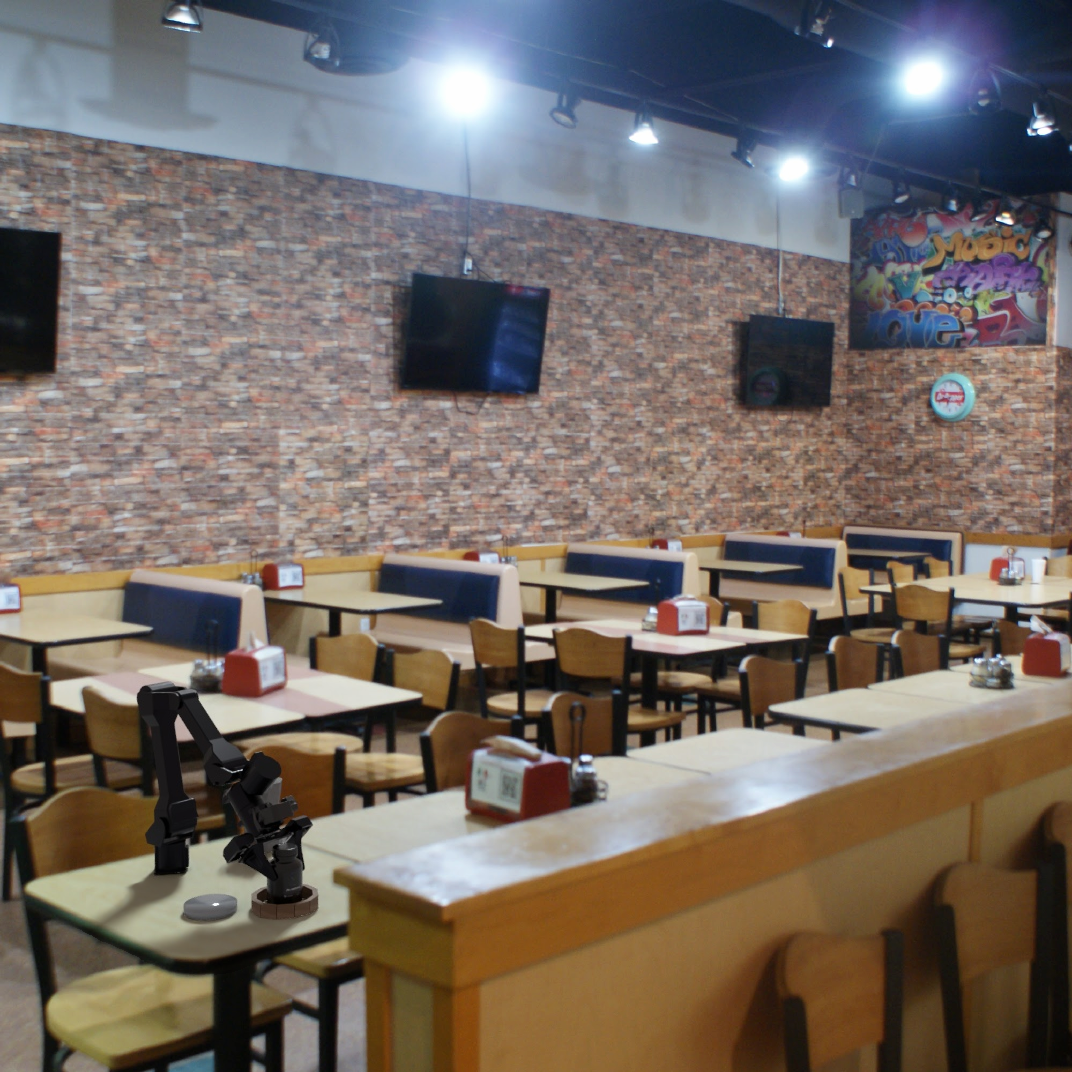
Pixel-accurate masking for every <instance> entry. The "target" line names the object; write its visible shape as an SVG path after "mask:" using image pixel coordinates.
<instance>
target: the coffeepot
mask: <svg viewBox="0 0 1072 1072" xmlns="http://www.w3.org/2000/svg"><path fill="white" fill-rule="evenodd" d="M282 784H283V778H282V777H280V776H279V777H278V779H277V780H276V781H275V782H274V784H273V785H272V786H271V787H270V788H269V790H268V791H267V792H266V793H265V794H263V795H261V797H262V798H263V800H264V802H265V803H268V802H270V803H272V805H275V804H278V803H280V802H281V794H282ZM243 828H244V827H243ZM279 828H280V829H281V826H280V827H279ZM244 833H247V831H246V829H245V828H244V829H243V834H244ZM280 843H283V841H282V839H280V840H276V841H273V842H270V843H267V844H264V852H266V853H272V852H271V851H272V847H273V846H274V845H276V844H280Z"/></svg>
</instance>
